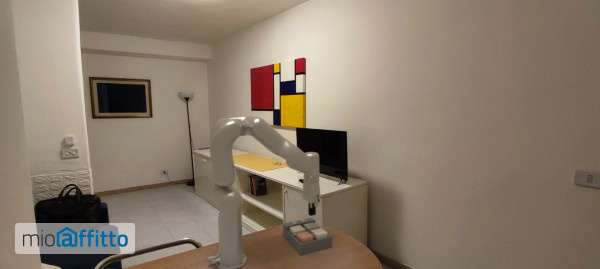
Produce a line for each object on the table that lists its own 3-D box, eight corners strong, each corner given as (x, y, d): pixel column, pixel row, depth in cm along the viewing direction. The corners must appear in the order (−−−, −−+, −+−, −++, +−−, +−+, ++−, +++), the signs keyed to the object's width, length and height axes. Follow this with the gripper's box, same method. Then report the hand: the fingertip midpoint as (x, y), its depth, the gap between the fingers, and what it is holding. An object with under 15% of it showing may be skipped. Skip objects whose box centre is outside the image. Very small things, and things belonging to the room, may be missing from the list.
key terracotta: (302, 243, 126) (302, 238, 125) (296, 237, 130) (296, 233, 130) (313, 240, 128) (313, 236, 128) (307, 235, 133) (307, 231, 133)
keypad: (300, 255, 124) (300, 239, 123) (283, 237, 141) (283, 223, 140) (331, 247, 131) (331, 231, 130) (311, 230, 148) (311, 217, 147)
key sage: (308, 232, 136) (308, 228, 135) (303, 228, 140) (303, 224, 140) (319, 230, 138) (319, 226, 138) (313, 225, 143) (313, 222, 143)
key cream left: (294, 236, 132) (294, 232, 132) (289, 231, 137) (289, 227, 137) (305, 233, 135) (305, 229, 134) (300, 228, 140) (300, 225, 139)
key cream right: (316, 239, 129) (316, 235, 129) (310, 234, 134) (310, 230, 134) (327, 236, 131) (327, 232, 131) (321, 231, 136) (321, 227, 136)
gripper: (297, 175, 141) (298, 211, 144) (312, 183, 128) (313, 222, 130) (310, 173, 145) (311, 208, 147) (326, 180, 132) (326, 218, 134)
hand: (312, 214), depth 139 cm, fingers closed
